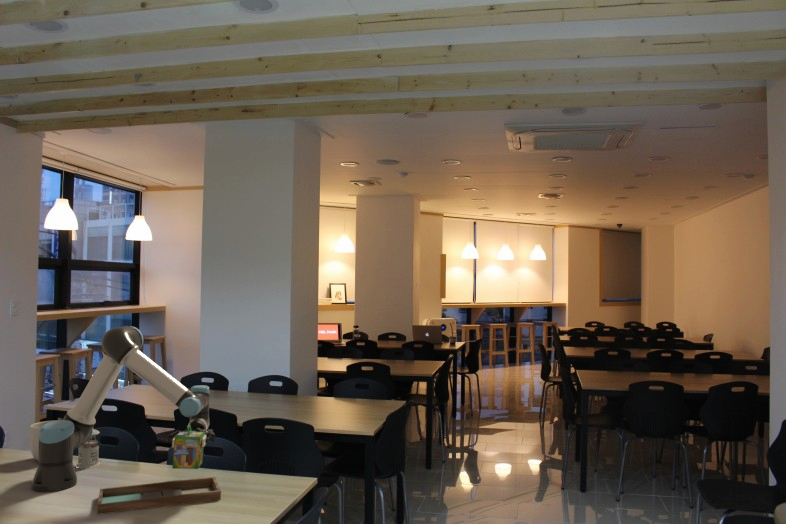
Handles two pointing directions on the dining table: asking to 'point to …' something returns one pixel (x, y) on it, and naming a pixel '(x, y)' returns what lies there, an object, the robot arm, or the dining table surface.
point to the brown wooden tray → (158, 500)
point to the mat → (121, 498)
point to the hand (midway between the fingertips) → (188, 443)
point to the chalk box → (188, 449)
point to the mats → (158, 493)
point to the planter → (36, 437)
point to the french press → (89, 453)
